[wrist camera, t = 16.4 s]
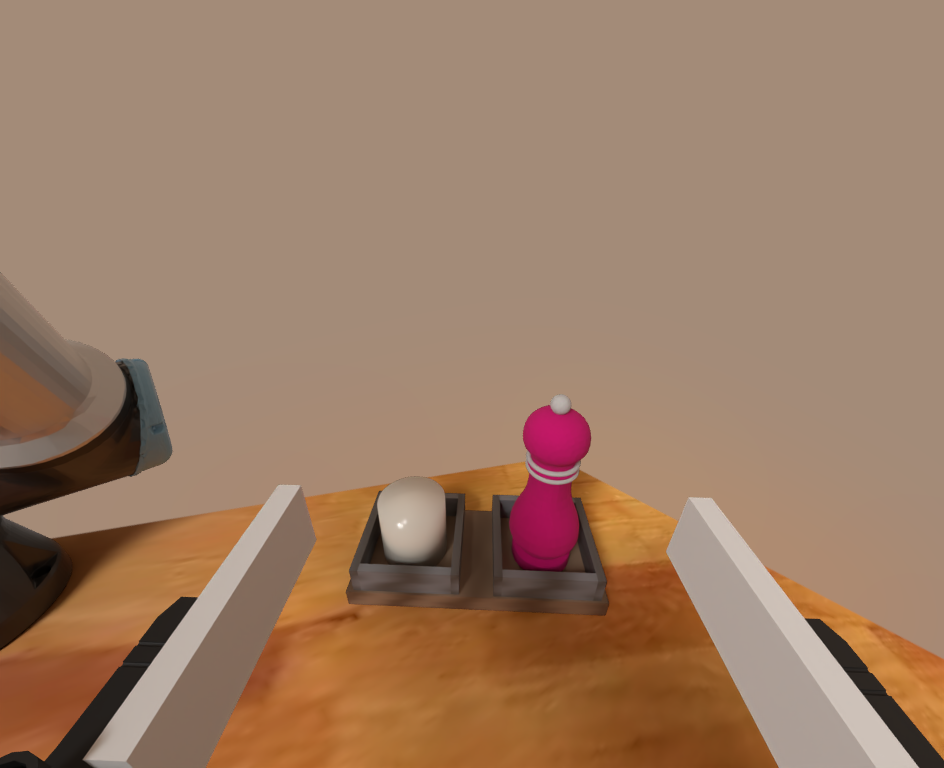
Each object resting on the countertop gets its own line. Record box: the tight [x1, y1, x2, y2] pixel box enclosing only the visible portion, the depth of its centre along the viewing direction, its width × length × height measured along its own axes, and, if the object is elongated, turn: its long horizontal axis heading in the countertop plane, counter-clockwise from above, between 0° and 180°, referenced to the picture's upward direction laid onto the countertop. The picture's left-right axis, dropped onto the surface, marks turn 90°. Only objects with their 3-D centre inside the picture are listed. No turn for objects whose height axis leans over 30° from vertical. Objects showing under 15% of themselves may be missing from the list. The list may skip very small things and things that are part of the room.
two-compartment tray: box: [346, 491, 609, 615], centre depth 39 cm, size 26×11×5 cm, turn 88°
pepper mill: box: [509, 394, 591, 572], centre depth 35 cm, size 7×7×20 cm
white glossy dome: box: [377, 476, 447, 567], centre depth 38 cm, size 7×7×7 cm
